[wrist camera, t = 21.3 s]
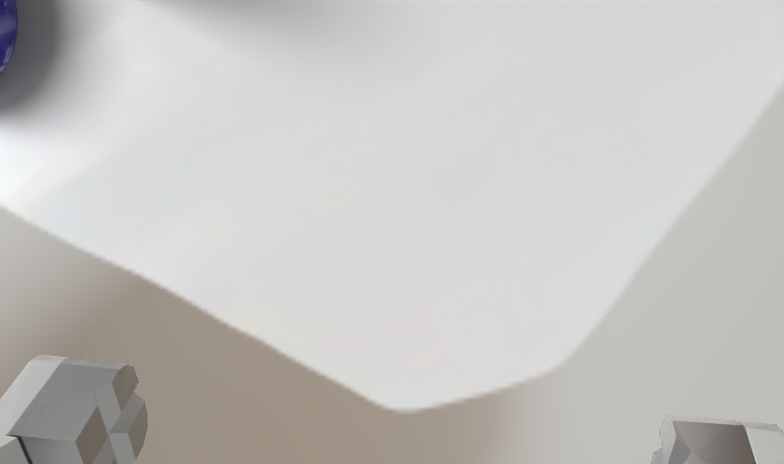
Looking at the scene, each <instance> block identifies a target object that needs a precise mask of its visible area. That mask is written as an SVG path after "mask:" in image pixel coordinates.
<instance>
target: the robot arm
mask: <svg viewBox="0 0 784 464" xmlns="http://www.w3.org/2000/svg"><path fill="white" fill-rule="evenodd" d="M138 382H139V381H138V378H137V375H136V372H135V369H134V367H133V366H129V365H125V364H117V363H109V362H100V361H93V360H92V361H91V360H84V359H76V358H63V357H55V356H46V355H39V356H37V357H35V358H34V359H32V360H31V361H29V363H28V364H27V365H26V367H25V368H24V369H23V371H22V372H21V373H20V375H19V376H18V377H17V378H16V380H15V381H14V382H13V384H12V385H11V386H10V388H9V389H8V390H7V391H6V393H5V394H4V395H3V397H2V398H1V399H0V464H131V463H133V462H134V461H135V460H136V459H137V457H138V455H139V453H140V451H141V449H142V447H143V445H144V440H145V436H146V432H147V427H148V420H147V418H148V417H147V409H146V406H145V402H144V401H143V400H142V399H141V398H140V397H139V396H138V395H136V394H135V393H134V392H133V391H134V390H135V388H136V386H137V384H138ZM659 433H660V439H661V444H662V448H660V449H659V450H657V451H656V452H654V453H653V457H652V461H651V464H784V434H783V432H782V430H781V429H780V428H779V427H778V426H777V425H776V424H765V423H754V422H743V421H739V422H737V421H734V420H722V419H721V420H720V419H710V418H698V417H686V416H672V415H667V416H666V417H665V418H664V420H663V422H662V425H661V428H660V432H659Z"/></svg>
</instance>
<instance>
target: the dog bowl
mask: <svg viewBox="0 0 784 464" xmlns="http://www.w3.org/2000/svg"><path fill="white" fill-rule="evenodd" d="M16 33H17V9H16V2H15V0H0V73H1V72H2V71H3V69H4V68H5V66H6V65H7V63H8V61H9V59H10V57H11V54H12V51H13V48H14V44H15V40H16Z"/></svg>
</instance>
